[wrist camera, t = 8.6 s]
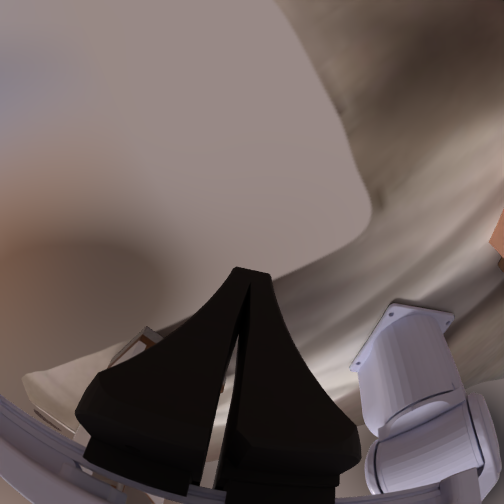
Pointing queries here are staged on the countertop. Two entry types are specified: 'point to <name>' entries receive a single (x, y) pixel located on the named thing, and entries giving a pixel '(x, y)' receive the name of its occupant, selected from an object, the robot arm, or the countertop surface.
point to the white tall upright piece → (136, 499)
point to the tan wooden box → (501, 264)
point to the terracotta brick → (498, 236)
